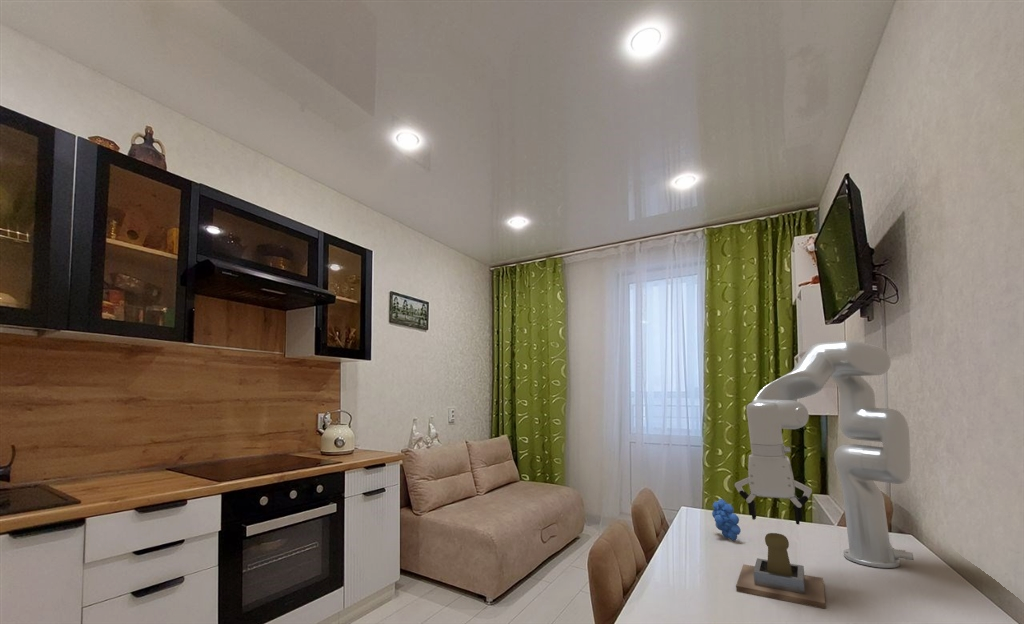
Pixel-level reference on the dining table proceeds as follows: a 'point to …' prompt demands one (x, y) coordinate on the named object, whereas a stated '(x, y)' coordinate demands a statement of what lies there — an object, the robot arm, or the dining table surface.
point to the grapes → (726, 519)
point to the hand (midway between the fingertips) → (775, 520)
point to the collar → (779, 578)
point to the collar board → (811, 596)
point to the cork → (778, 554)
